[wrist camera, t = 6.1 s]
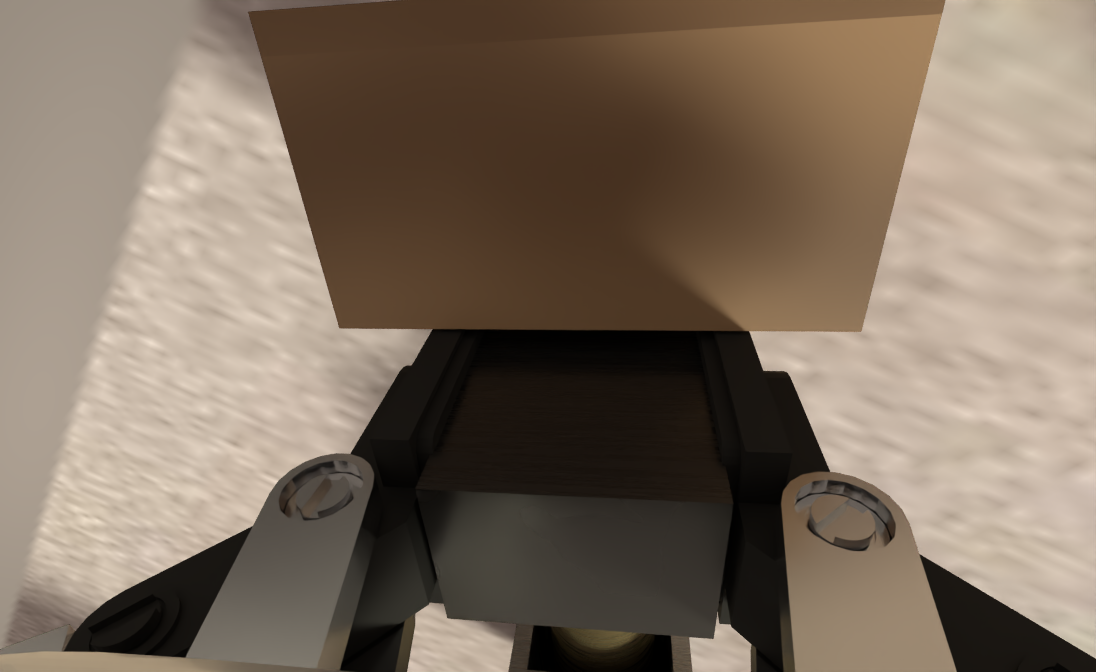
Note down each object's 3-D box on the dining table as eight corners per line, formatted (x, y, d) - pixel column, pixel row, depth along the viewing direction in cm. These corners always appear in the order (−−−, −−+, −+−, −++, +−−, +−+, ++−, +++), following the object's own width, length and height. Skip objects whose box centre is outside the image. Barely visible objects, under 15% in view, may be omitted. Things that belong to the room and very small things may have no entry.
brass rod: (656, 621, 20) (670, 926, 13) (554, 613, 20) (519, 905, 14) (691, 39, 11) (790, 114, 4) (501, 51, 11) (324, 133, 5)
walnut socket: (755, 178, 15) (861, 331, 8) (461, 186, 16) (339, 328, 9) (780, -24, 13) (956, -42, 6) (435, 2, 14) (248, 11, 7)
